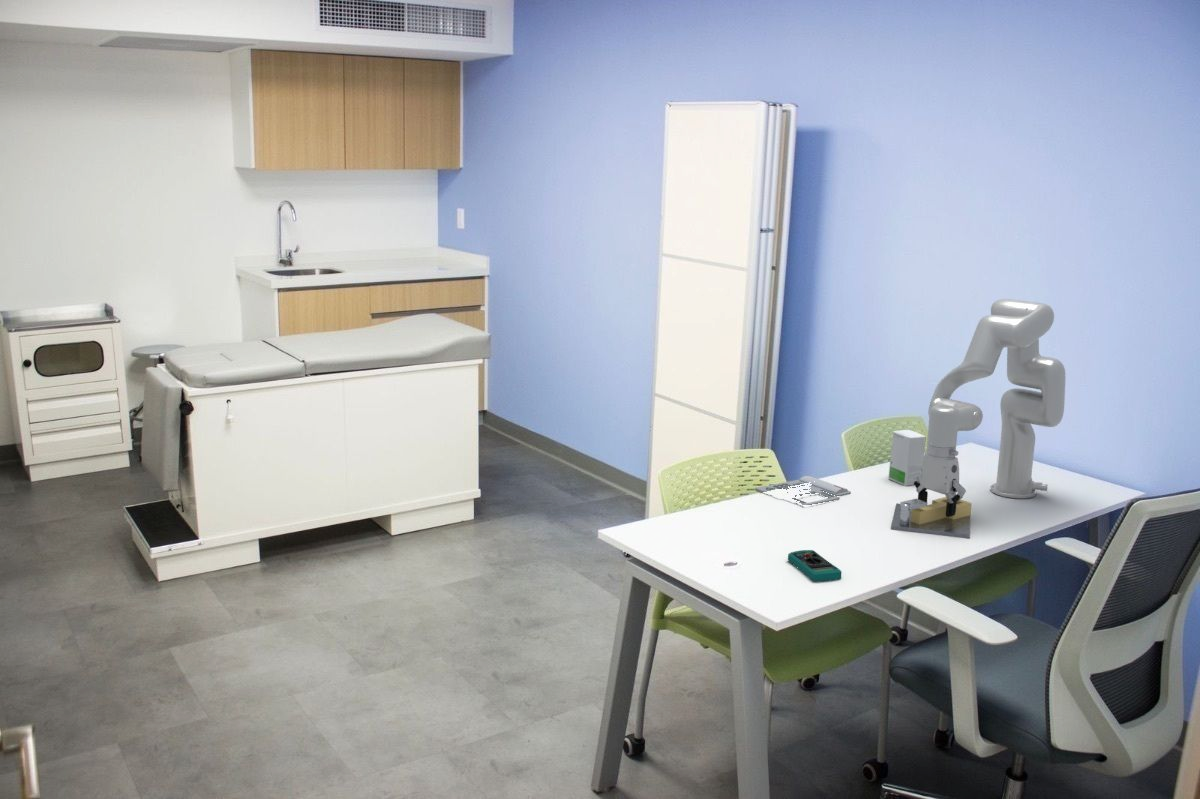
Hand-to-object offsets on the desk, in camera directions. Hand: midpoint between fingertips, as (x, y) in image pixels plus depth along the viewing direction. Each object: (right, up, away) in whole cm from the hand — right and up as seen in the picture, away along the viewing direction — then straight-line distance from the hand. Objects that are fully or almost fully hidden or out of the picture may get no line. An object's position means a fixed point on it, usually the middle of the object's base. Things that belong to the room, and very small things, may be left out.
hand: (936, 510), depth 287 cm
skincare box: (+2, +5, +36) cm, 37 cm away
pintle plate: (-1, -3, 0) cm, 3 cm away
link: (+1, -2, +1) cm, 2 cm away
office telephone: (-31, +2, +25) cm, 39 cm away
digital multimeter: (-41, -11, -34) cm, 54 cm away
